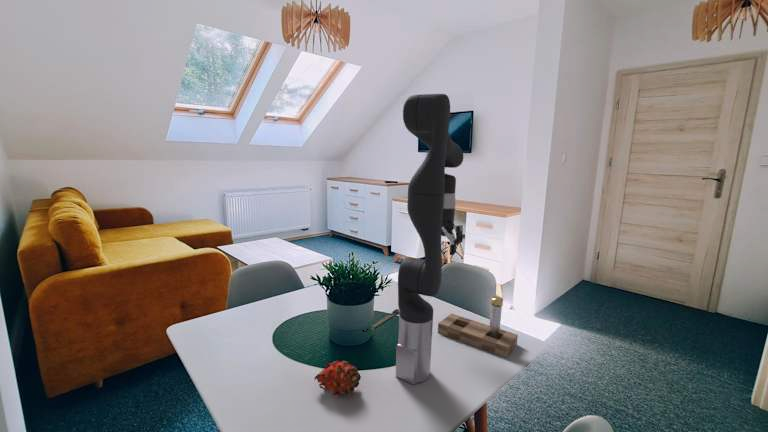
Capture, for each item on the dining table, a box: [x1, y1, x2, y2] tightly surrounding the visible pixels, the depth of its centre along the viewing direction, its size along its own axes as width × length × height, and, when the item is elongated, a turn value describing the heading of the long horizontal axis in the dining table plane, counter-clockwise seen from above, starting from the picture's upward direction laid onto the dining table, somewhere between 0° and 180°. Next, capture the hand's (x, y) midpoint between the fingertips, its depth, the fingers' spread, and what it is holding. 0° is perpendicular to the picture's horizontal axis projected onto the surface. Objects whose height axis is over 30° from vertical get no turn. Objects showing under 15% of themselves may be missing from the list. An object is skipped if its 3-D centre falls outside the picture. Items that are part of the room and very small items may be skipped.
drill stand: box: [437, 313, 519, 359], centre depth 119 cm, size 10×24×4 cm, turn 53°
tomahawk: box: [370, 308, 399, 335], centre depth 129 cm, size 21×7×1 cm, turn 143°
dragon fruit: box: [314, 360, 362, 397], centre depth 90 cm, size 8×8×12 cm
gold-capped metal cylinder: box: [489, 295, 504, 340], centre depth 114 cm, size 4×4×16 cm
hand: (440, 252), depth 121 cm, fingers open, 8 cm apart
